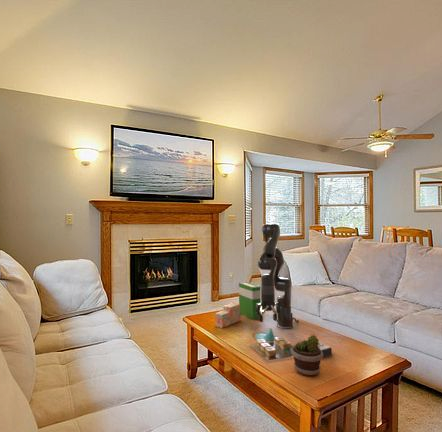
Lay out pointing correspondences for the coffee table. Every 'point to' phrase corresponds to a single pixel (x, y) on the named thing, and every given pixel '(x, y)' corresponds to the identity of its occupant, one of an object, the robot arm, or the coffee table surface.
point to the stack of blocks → (228, 315)
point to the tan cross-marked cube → (270, 351)
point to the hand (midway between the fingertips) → (268, 321)
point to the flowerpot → (307, 356)
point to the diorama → (266, 336)
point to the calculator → (324, 349)
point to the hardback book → (249, 299)
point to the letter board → (280, 346)
